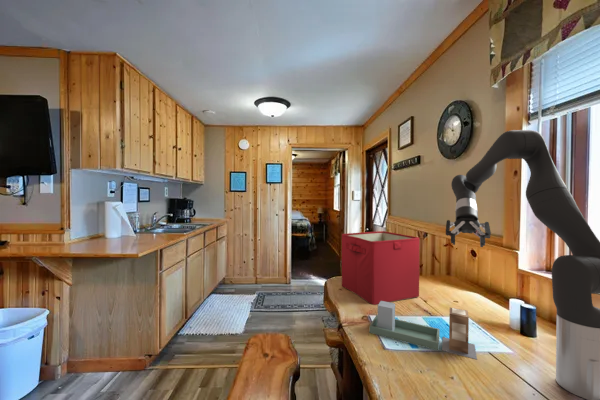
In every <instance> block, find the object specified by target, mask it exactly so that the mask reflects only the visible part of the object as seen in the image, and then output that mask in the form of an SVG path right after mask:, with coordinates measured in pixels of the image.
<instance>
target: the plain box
mask: <svg viewBox="0 0 600 400" xmlns="http://www.w3.org/2000/svg"><path fill="white" fill-rule="evenodd" d="M377 315H378V322H377V327H379V328H383V329H387V330H391V331H394V329H395V319H396V302H395V303H394V302H385V301H380V303H379V304H377Z"/></svg>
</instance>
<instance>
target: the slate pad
mask: <svg viewBox="0 0 600 400" xmlns="http://www.w3.org/2000/svg"><path fill="white" fill-rule="evenodd" d="M441 348H442V349H441V351H443V352H447V353H450V354H453V355H457V356H462V357H465V358H470V359H472V360H476V361H477V360H478V356H477V351H476V344H474V343H470V342H468V354H467V353H463V352H459V351H455V350H451V349H449V337H445V336H442V343H441Z"/></svg>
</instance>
